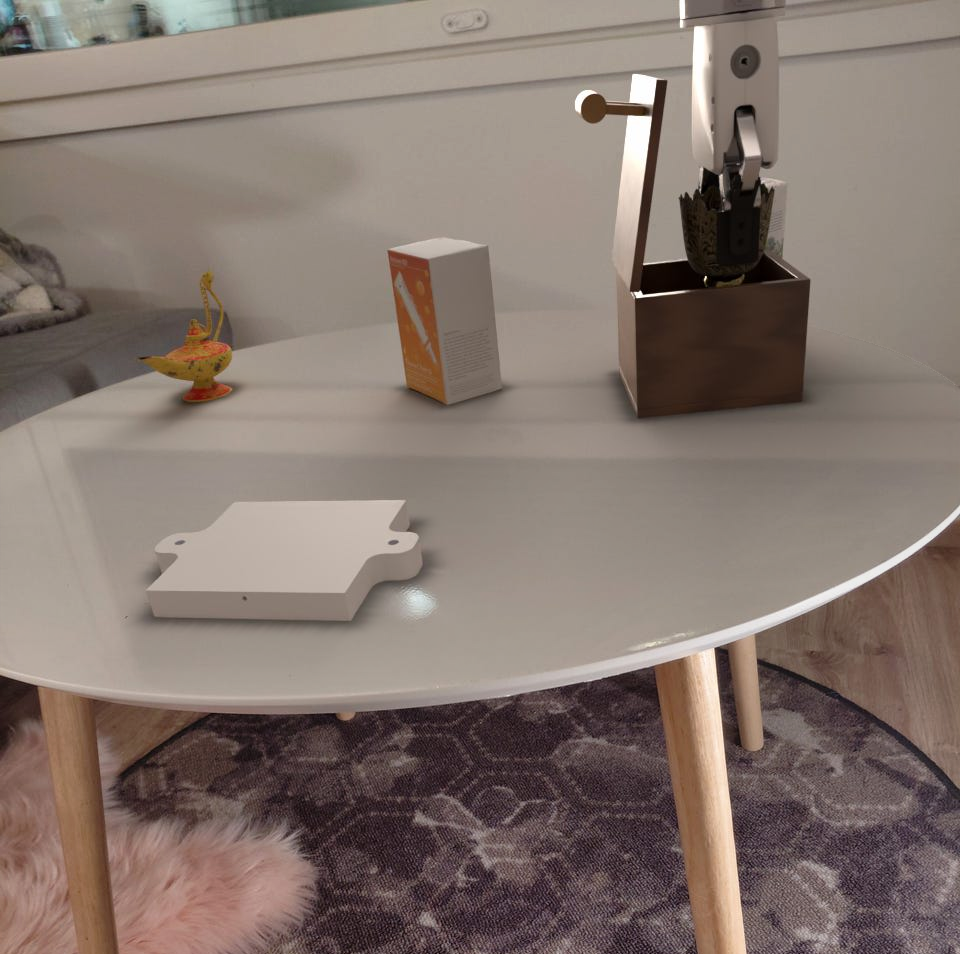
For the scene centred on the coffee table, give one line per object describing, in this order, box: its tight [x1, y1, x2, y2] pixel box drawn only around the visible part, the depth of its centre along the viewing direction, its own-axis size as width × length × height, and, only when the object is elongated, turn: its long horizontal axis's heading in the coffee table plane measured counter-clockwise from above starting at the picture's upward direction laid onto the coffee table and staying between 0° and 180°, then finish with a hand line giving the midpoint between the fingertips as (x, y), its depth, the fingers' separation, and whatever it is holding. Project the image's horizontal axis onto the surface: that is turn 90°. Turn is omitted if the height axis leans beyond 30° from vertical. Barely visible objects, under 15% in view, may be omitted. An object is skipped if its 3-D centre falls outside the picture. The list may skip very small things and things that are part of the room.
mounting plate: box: [145, 499, 424, 622], centre depth 64 cm, size 18×13×2 cm
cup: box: [678, 183, 775, 288], centre depth 80 cm, size 8×7×8 cm
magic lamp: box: [133, 269, 233, 403], centre depth 97 cm, size 7×18×11 cm, turn 167°
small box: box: [387, 237, 503, 406], centre depth 90 cm, size 8×6×13 cm
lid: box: [574, 73, 668, 292], centre depth 77 cm, size 14×13×6 cm
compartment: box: [615, 249, 812, 419], centre depth 84 cm, size 14×13×10 cm
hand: (726, 252), depth 80 cm, fingers closed on cup, 7 cm apart
